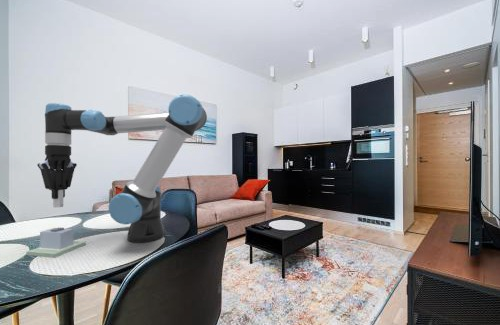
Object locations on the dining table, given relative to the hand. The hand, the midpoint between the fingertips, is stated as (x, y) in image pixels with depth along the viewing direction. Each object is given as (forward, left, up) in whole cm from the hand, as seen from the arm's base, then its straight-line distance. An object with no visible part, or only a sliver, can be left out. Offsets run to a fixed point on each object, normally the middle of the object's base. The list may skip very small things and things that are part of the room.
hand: (58, 206), depth 83 cm
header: (0, 0, -16) cm, 16 cm away
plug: (0, 0, -15) cm, 15 cm away
